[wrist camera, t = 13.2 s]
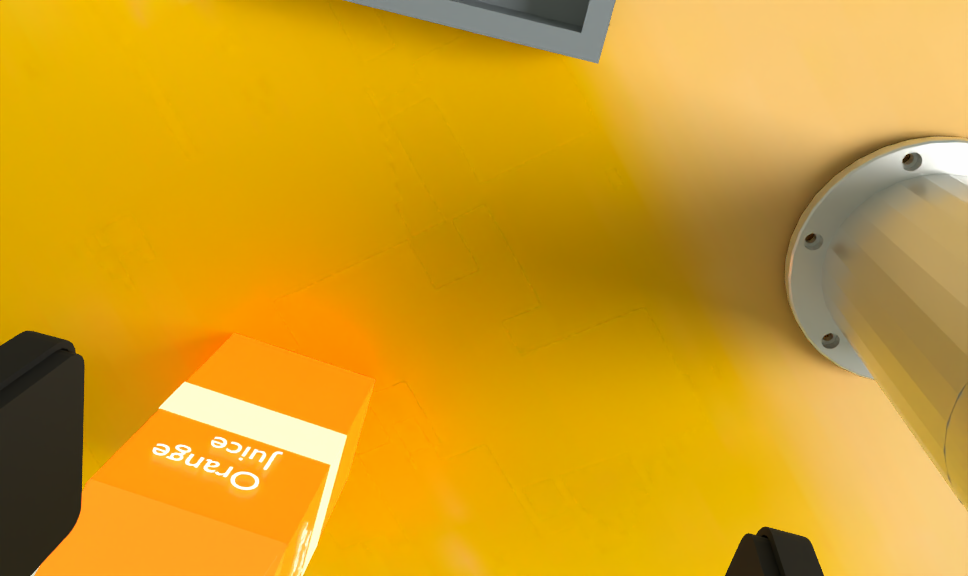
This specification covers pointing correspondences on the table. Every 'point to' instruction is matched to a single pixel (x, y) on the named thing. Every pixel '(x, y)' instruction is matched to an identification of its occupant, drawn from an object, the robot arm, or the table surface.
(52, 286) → the table surface
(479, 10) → the box
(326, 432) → the orange juice
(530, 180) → the table surface
